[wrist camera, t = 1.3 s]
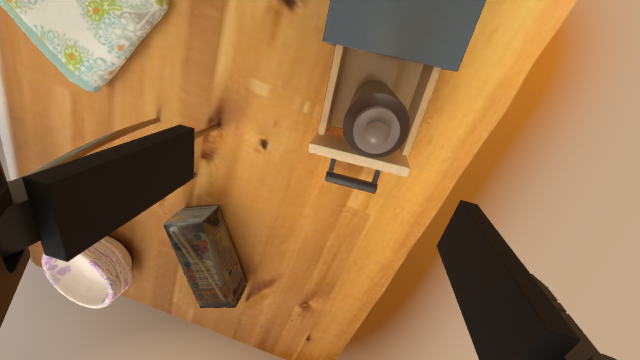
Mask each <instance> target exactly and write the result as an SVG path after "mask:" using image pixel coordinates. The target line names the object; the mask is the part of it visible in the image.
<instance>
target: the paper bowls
mask: <svg viewBox="0 0 640 360" xmlns="http://www.w3.org/2000/svg"><path fill="white" fill-rule="evenodd" d="M42 266H43V270H44V273H45V275H46V276H47V278H48V279H49V281H50V282H51V283H52V285H53V286H54V287H55V288H56V289H57V290H58V291H59V292H60V293H62V294H63V295H64V296H65V297H67V298H69V299H70V300H72V301H73V302H75V303H77V304H80V305H82V306H85V307H89V308H102V307H105V306H107V305H109V304H110V303H112V302H113V301H114V300H115V299H116V298H117V297H118V296H119V295H120V294H122V292H124V291H125V290H126V289H127V288H128V287H129V285H130V283H131V281H132V272H131V267H132V260H131V257H130V254H129V253H128V251H127V250H126V248H125V247H124V246H123V245H122V244H121V243H119V242H118V241H117V240H115V239H113V238H111V237H108V236H106V237H105V238H103V239H102V240H100V241H99V242H97V243H96V244H94V245H93V246H91V247H90V248H88V249H87V250H85V251H84V252H82V253H81V254H79V255H78V256H76V257H75V258H73V259H72V260H70V261H69V262H65V261H61V260H58V259H55V258H52V257H49V256H45V254H43V256H42Z"/></svg>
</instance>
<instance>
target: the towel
mask: <svg viewBox="0 0 640 360" xmlns="http://www.w3.org/2000/svg"><path fill="white" fill-rule="evenodd" d="M0 5H1V6H2V7H3V8H4V9H5V10H6V11H7V12H8V13H9V15H10V16H11V17H12V18H13V19H14V21H15V22H16V23H17V24H18V25H19V27H20V28H21V29H22V30H23V31H24V33H25V34H26V35H27V36H28V37H29V38H30V39H31V40H32V42H33V43H34V44H35V45H36V46H37V47H38V48H39V49H40V51H41V52H42V53H43V54H44V55H45V56H46V57H47V58H48V59H49V60H50V61H51V62H52V63H53V64H54V65H55V66H56V67H57V68H58V69H59V70H60V71H61V72H62V73H63V74H64V75H65V76H66V77H67V78H68V79H69V80H70V81H71V82H73V83H75V84H76V85H78V86H80V87H81V88H82V89H84V90H86V91H92V92H98V91H99V90H100V89H101V88H102V87H103V86H105V85H106V84H107V83H108V82H109V81H110V80H111V79H112V78H113V76H114V75H115V74H116V73H117V72H118V70H119V69H120V68H121V66H122V65H123V64H124V63H125V62H126V60H127V59H128V58H129V56H130V55H131V54H132V53H133V52H134V50H135V49H136V47H137V46H138V45H139V44H140V42H141V41H142V40H143V39H144V38H145V36H146V35H147V34H148V33H149V32H150V31H151V30H152V29H153V27H154V26H155V25H156V24H157V23H158V22H159V21H160V20H161V18H162V17H163V16H164V15H165V13H166V12H167V10H168V9H169V1H168V0H0Z"/></svg>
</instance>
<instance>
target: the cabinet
mask: <svg viewBox="0 0 640 360" xmlns="http://www.w3.org/2000/svg"><path fill="white" fill-rule="evenodd" d="M485 2H486V0H330V4H329V9H328V15H327V20H326V25H325V31H324V36H323V41H324V42H326V43H328V44H330V45H333V46H336V45H341V46H345V47H349V48H354V49H358V50H363V51H367V52H372V53H376V54H380V55H385V56H389V57H394V58H398V59H402V60H407V61H411V62H416V63H420V64H425V65H429V66H433V67H438V68H441V70H448V71H456V72H458V69H459V67H460V64H461V62H462V59H463V57H464V54H465V52H466V49H467V47H468V45H469V42H470V40H471V37H472V35H473V32H474V30H475V27H476V25H477V22H478V20H479V17H480V15H481V12H482V10H483V7H484V5H485Z"/></svg>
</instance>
